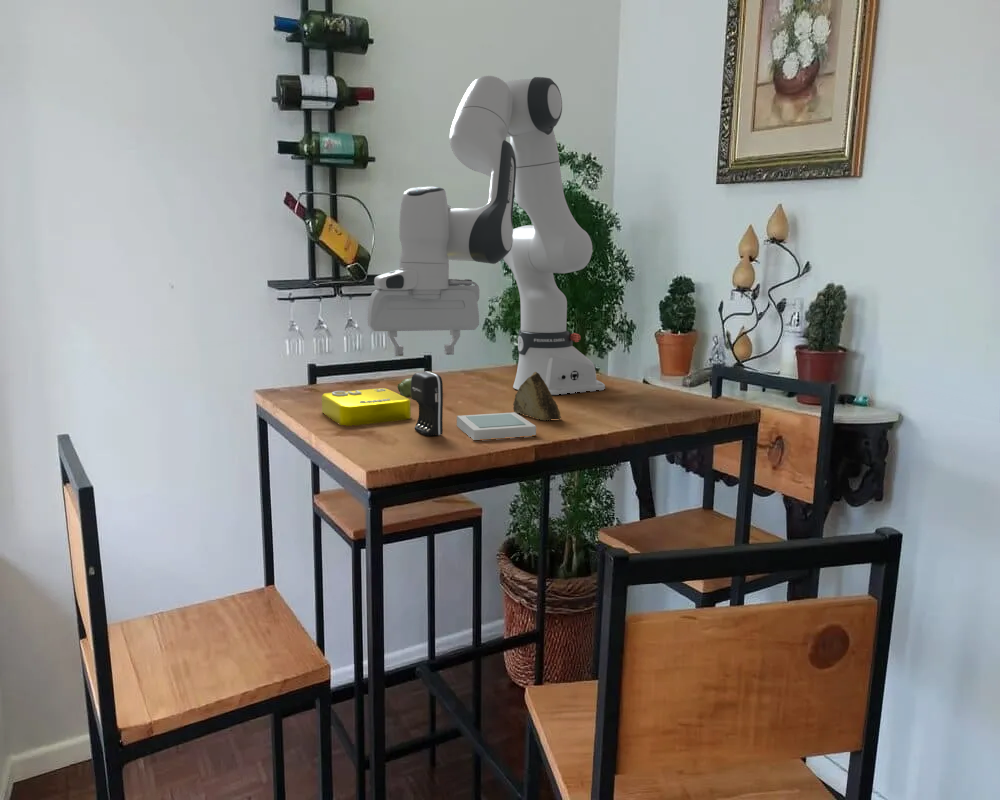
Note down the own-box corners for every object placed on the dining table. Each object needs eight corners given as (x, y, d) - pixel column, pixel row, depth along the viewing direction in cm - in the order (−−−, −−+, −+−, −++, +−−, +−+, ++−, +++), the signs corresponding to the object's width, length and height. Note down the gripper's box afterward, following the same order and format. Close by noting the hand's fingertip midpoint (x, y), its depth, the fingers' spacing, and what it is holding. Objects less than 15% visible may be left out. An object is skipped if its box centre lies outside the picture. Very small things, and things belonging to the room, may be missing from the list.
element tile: (342, 429, 151) (341, 404, 150) (319, 413, 163) (318, 391, 162) (414, 420, 158) (414, 397, 157) (386, 406, 171) (386, 385, 170)
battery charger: (408, 430, 148) (407, 371, 146) (426, 428, 150) (426, 369, 148) (425, 438, 143) (425, 377, 140) (443, 435, 145) (443, 375, 142)
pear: (441, 371, 181) (400, 381, 177) (444, 393, 182) (404, 403, 179) (432, 367, 186) (392, 377, 182) (436, 388, 187) (396, 398, 183)
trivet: (514, 422, 156) (515, 411, 155) (535, 436, 145) (536, 425, 144) (456, 425, 152) (456, 415, 152) (473, 441, 141) (473, 429, 141)
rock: (499, 401, 164) (510, 404, 155) (522, 368, 165) (535, 369, 155) (539, 430, 167) (552, 435, 157) (561, 397, 167) (576, 400, 158)
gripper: (474, 278, 147) (473, 351, 149) (365, 277, 140) (366, 353, 143) (484, 280, 141) (483, 356, 143) (370, 279, 135) (371, 358, 137)
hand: (424, 355), depth 143 cm, fingers open, 8 cm apart
